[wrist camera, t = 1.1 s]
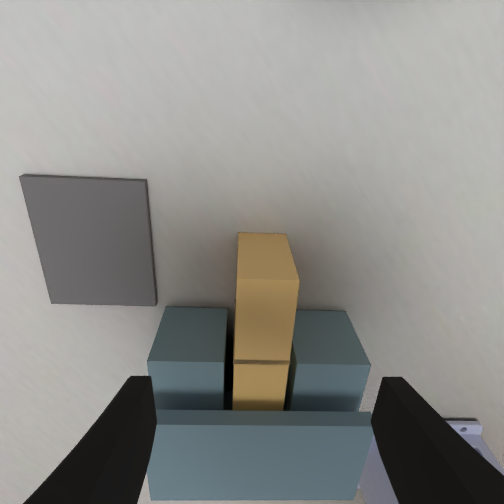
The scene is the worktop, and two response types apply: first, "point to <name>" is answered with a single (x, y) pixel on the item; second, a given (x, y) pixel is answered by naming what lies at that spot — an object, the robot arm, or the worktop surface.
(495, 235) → the worktop surface
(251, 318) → the tan grooved block
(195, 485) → the teal block stack
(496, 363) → the worktop surface
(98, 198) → the pad
